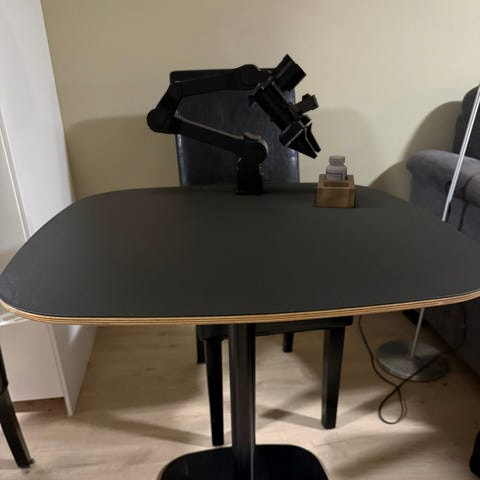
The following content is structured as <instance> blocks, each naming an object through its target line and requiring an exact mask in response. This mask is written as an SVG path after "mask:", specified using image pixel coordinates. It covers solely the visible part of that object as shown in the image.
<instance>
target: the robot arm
mask: <svg viewBox="0 0 480 480" xmlns="http://www.w3.org/2000/svg"><path fill="white" fill-rule="evenodd" d="M307 75H308V74H307V73H306V72H305V71H304V69H302V67H301V66H300V64H299V63H296V61H295V60H294V59H293V58H292V57H291V56H290V55H289V54H288V53H286V54H285V55H284V56H283V57H282V60H281V61H280V62H279V63H278V64H277V65H276V66H275V67H274V69H273V70H272V71H270V70H269V69H267V70H263V69H260V67H259V66H257V65H256V64H255V63H245V64H243V65H240V66H238V67H235V68H233V69H230V70H228V71H225V72H222V73H219V74H213V75H208V76H203V77H198V78H193V79H186V80H182V81H180V80H175V81H172V82H170V83H169V84H168V87H167V89H166V91H165V92H164V94H163V96H162V97H161V98H160V100H159V101H158V103H157V104H156V106H155V107H154V108H152V109H150V110H149V111H148V112H147V115H146V119H145V120H146V125H147V127H148V129H149V130H150V131H151V132H153V133H156V134H165V135H177V136H183V137H186V138H190V139H192V140H195V141H198V142H201V143H204V144H207V145H210V146H212V147H216V148H219V149H222V150H225V151H229V152H231V153H232V154H234V155H235V156H237V157H238V158H239V159H238V160H237V163H236V167H237V168H236V191H235V194H238V195H261V193H262V191H263V190H264V186H265V182H264V181H265V178H264V177H265V174H264V172H263V171H262V169H263V168H262V166H260V164H263V163H264V162H265V161H266V159H267V157H268V153H269V146H268V144H267V142H266V141H265V140H264V139H263V138H261V135H255V134H253V133H251V132H248V131H245V132H244V134H243V136H241V135H234V134H231V133H228V132H225V131H222V130H219V129H217V128H214V127H210V126H207V125H204V124H201V123H198V122H196V121H192V120H189V119H187V118H186V117H184V116H182V115H180V114H179V113H178V112H177V110H178V108H179V106H180V104H181V102H182V100H183V98H186V97H192V96H196V95H203V94H207V93H213V92H214V93H215V92H220V91H252V90H255V89H256V88H258V87H259V85H260V84H262V83H266V82H268V83H267V85H265V86H264V87H263V86H260V87H259V88H258V89H257V90H255V92H254V93H253V94H248V95H247V98H248V104H247V105H248V107H249V108H252V107H254V105H255V104H257V105H258V106H259V107H260V109H261V110H262V111H263V112H264V113H265V114H266V115H267V117H268V118H269V121H270V123H272V124H273V123H274V124H275V125H276V126H277V128H278V129H279V130H280V134H279V136H278V141H279V143H280V144H281V145H282V146H283V147H284V148H285V147H286V148H287V149H291V150H293V151H294V152H297V153H299V154H302V155H304V156H306V157H308V158H310V159H313V160H315V159H316V158H318V154H319V153H320V152H321V151H322V148H321V146H320V145H319V143H318V141H317V139H316V137H315V134H313V131H312V130H313V121H312V118H311V117H310V116H309V115H308V114H307V113H309V112H310V111H315V110H317V109H319V108H320V105H319V102H318V98H317V97H316V94H313V95H311V94H310V93H309V92H307V93H304V94H303V95H302V96H301V100H300V101H298V102H296V103H293V102H292V101H291V100H287V99H286V98H285V97H284V96H283V95H282V93H283V94H285V93H286V92H287V91H288V92H289V93H292V91H293V90H294V89H295V88H296V87H297V86H298V85H299V84H300V83H301V82H302V81H303V80H304V79H305V78H306V76H307ZM269 80H271V81H269ZM274 84H275V85H276V86H275V85H274ZM276 87H278V88H279V89H278V88H276ZM279 90H280V91H281V92H282V93H281V92H280V91H279ZM317 153H318V154H317Z"/></svg>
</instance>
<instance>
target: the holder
mask: <svg viewBox="0 0 480 480" xmlns="http://www.w3.org/2000/svg"><path fill="white" fill-rule="evenodd" d="M325 176H326V173H319V174H318V180H317V187H316V202H315V207H317V208H318V207H319V208H348V209H349V208H350V209H354V205H355V198H356V197H355V196H356V185H355V176H354V174H347V178H346V181H341V180H325Z"/></svg>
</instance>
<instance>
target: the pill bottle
mask: <svg viewBox="0 0 480 480" xmlns="http://www.w3.org/2000/svg"><path fill="white" fill-rule="evenodd" d="M328 163H329V164H328V165H327V166H326V167H325V174H326V176H325V180H341V181H346V178H347V175H348V166H347V165H345V163H346V156H344V155H336V154H335V155H330V156H329V157H328Z"/></svg>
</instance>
